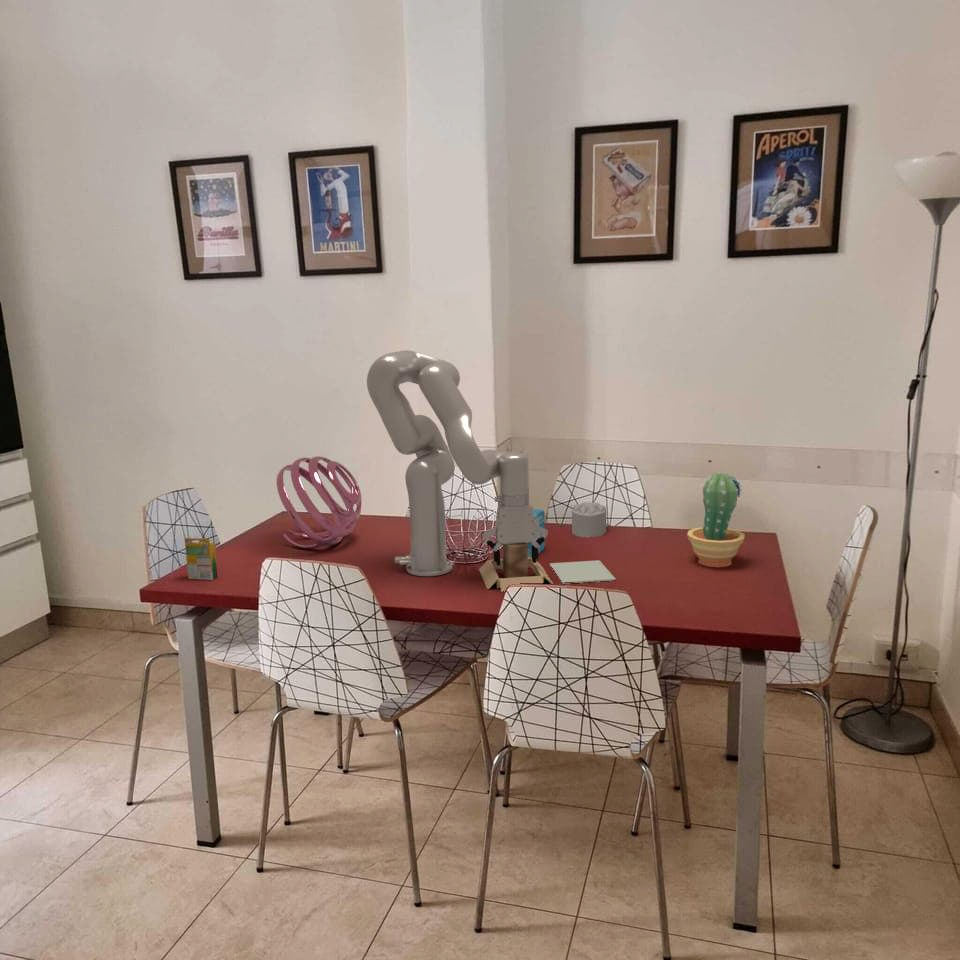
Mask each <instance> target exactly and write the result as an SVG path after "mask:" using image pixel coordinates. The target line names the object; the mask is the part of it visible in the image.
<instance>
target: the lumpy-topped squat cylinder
mask: <svg viewBox="0 0 960 960" xmlns="http://www.w3.org/2000/svg"><path fill="white" fill-rule="evenodd" d="M606 532H607V507H606V505H603V504H600V502H599V503H598V502H587V501H584V502H581V503H580V504H579V503H575V504H574V505H573V507H572V510H571V533H572V534H573V535H574V536H577V537H579V538H584V537H586V538H585V539H587V538H589V539H590V537H592V538H597V537H601V536H603V535H605V534H606Z"/></svg>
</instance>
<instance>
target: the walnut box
mask: <svg viewBox="0 0 960 960" xmlns="http://www.w3.org/2000/svg"><path fill="white" fill-rule="evenodd" d="M502 559H503V569H502V573H504V574H503V575H505V576H506V577H505V576H504V577H505V578H515V577H529V567H528V546H527V544H526V543H525V544H509V545H502Z"/></svg>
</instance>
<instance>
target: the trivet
mask: <svg viewBox="0 0 960 960" xmlns="http://www.w3.org/2000/svg"><path fill="white" fill-rule="evenodd" d="M549 567H550V568H551V567H552V568H553V569H552V568H551V569H552V571H553V570H554V571H555V572H554V571H553V572H554V574H555V573H556V574H557V575H556V574H555V575H556V576H558V577H559V578H558V577H557V578H558V580H559V579H560V580H561V581H560V580H559V581H560V583H561V582H562V583H561V584H562V585H563V584H565V585H571V584H570V583H565V582H574V583H580V584H584V583H583V582H586V583H585V584H588V583H587V582H594V581H595V583H601V582H600V581H610V582H613V581H612V580H616V577H615V576H614V575H613V574H612V573H611V572H610V570H609V569H607V567H606V566H605V565H604V564H603V563H602V562H601V560H584V561H568V562H551V563H549ZM596 581H597V582H596Z"/></svg>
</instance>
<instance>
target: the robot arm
mask: <svg viewBox="0 0 960 960" xmlns="http://www.w3.org/2000/svg"><path fill="white" fill-rule="evenodd" d="M460 380H461V375H460V371H459V370H458V368H457V367H456V366H455V365H454V364H453V363H451V362H449V361H446V360H443V359H440V358H436V357H432V356H430V355H426V354H423V353H420V352H418V351H413V350H409V349H407V350H399V351H394V352H388V353H386V354H383V355H381V356H379V357H377V359H375V360H374V362H373V363H372V364H371V366H370V367H369V369H368V373H367V377H366V388H367V392H368V395H369V397H370V399H371V401H372V404H374V407H375V409H376V411H377V412H378V415H379V416H380V418H381V421H382V423H383V425H384V428H385V429H386V431H387V434H388V436H389V438H390V440H391V442H392V444H393V446H394V448H395V449H396V450H397V452H399V453H400V454H402V455H407V456H409V455H410V456H411V455H413V454H415V456H416V458H415V459H413V460H412V461H411V462H410V463H409V465H408V466H407V468H406V471H405V479H404V480H405V485H406V490H407V494H408V495H407V496H408V505H409V506H408V507H409V510H408V511H409V525H410V526H409V527H410V529H409V530H410V549H411V551H409V554H406V555H404V556H400V555H399V556H394V563H395V564H399V566H405V565H406V566H405V567H406V569H405V571H406V572H407V573H408V574H410V575H413V576H418V577H435V576H442V575H445V574H448V573H450V572H451V571H452V570H453V563H452V562H451V561H449V560H447V537H446V536H447V533H446V532H447V531H446V511H445V510H446V509H445V499H444V494H443V491H442V490H443V489H442V486H443V485H444V484H446V483H447V482H448V481H449V480H451V478H453V476H454V474H455V467H456V465H457V467H458V468H459V471H460V473H462V475H463V476H464V478H466V480H467V481H469V482H470V483H471V484H473V485H480V486H481V485H484V484H487V483H488V482H489V481H491V480H493V479H495V478H498V477H499V494H498V495H497V496H494V502H495V503H496V502H497V503H499V504H498V505H497V510H496V515H495V516H496V517H495V526H494V527H492V528H490V529H489V530H487V531H485V532H484V533H482V536H481V537H483V540H484V541H485V543H486V544H487V546H488V547H490V548H491V549H492V550H493V551H492V552H493V560H494V562H496V564H497V566H500V559H501V550H500V548H501V546H503V545H509V544H525V543H532V546H531V557H532V561H533V563H536V561H537V560H538V559H539V554H538V548H539V547H540V545H541V544H542V543H543V542H544V541H545V542H546V538H547V536H548V534H549V531H548V529H547V528H545V529H544V528H542V527H540V526H537V525H535V518H534V511H533V509H534V507H533V504H532V503H531V502H530V478H529V477H530V476H529V475H530V473H529V472H530V471H529V457H528V454H526V453H525V452H521V451H509V452H506V451H505V452H504V451H501V450H496V449H486V450H485V449H484V450H482V451H481V449H480V448H479V446H478V444H477V442H476V441H475V439H474V435H473V431H472V421H473V420H472V419H473V411H472V409H471V407H470V405H469V404H468V402H467V401H466V400H465V397H464V396H463V395H462V393H461V391H460V390H459V388H458V387H459V385H460ZM405 383H412V384H415V385H418V387H419V390H420V391H421V393H422V394H423V396H424V398H425V400H426V401H427V402H428V405H429V406H430V408H431V409H432V410H433V412H434V414H435V416H436V417H437V419H438V420H439V422H440V425H442V428H443V430H444V435H445V438H446V441H445V439H444V437H443V435H442V433H441V431H440V429H439V427H438V426H437V424H436V423H435V422H434V420H433V419H431V418H430V417H428V416H426V415H423V414H415V412H414V410H413V408H412V405H411V404H410V402H409V400H408V398H407V397H406V395H405V394H404V393H403V392H402V391H401V389H400V385H401V384H405ZM446 442H447V443H446ZM455 463H456V465H455ZM536 531H538V532H540V533H541V536H540V537H539V538H538V539H537V540H535V539H536ZM493 535H495V538H496V539H495V541H494V542H493V541H492V540H491V539H490V538H491V536H493Z"/></svg>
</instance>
